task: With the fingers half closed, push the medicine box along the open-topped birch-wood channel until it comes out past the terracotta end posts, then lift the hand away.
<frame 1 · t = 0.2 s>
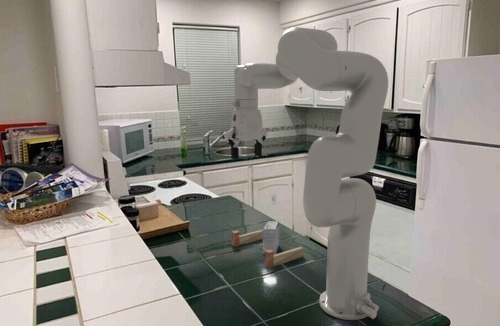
hand: (246, 157, 121), 31 cm above the counter, tool pointing down, fingers open, 9 cm apart
channel: (268, 250, 122), on the counter
medicine box: (271, 250, 123), on the counter
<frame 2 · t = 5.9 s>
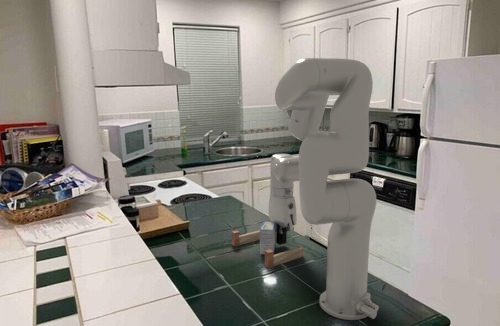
hand: (281, 243, 125), 1 cm above the counter, tool pointing down, fingers closed
medicine box: (267, 250, 122), on the counter
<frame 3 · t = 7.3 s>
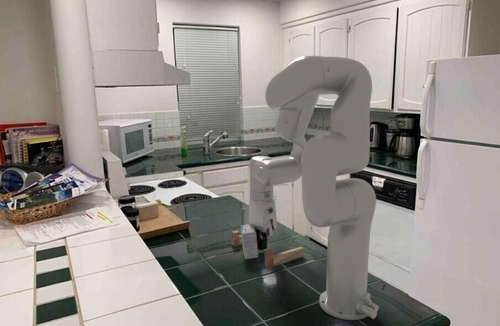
hand: (261, 248, 120), 1 cm above the counter, tool pointing down, fingers closed
medicine box: (250, 254, 119), on the counter
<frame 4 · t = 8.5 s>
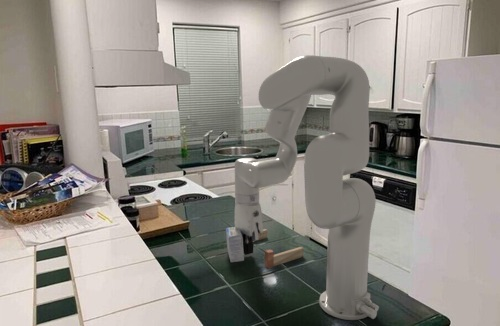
hand: (247, 253, 117), 1 cm above the counter, tool pointing down, fingers closed
medicine box: (235, 257, 117), on the counter, touching gripper
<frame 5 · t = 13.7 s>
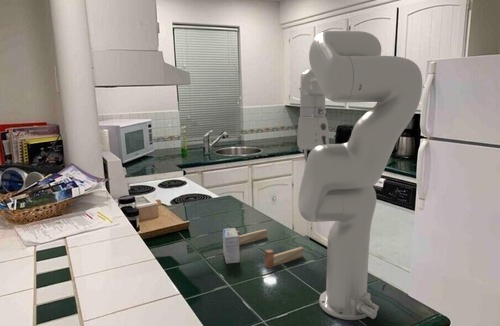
hand: (311, 171, 115), 27 cm above the counter, tool pointing down, fingers closed
medicine box: (231, 258, 116), on the counter
at the end: medicine box inside the target area (2.3 cm from its centre), on the counter; medicine box tilted 0° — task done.
